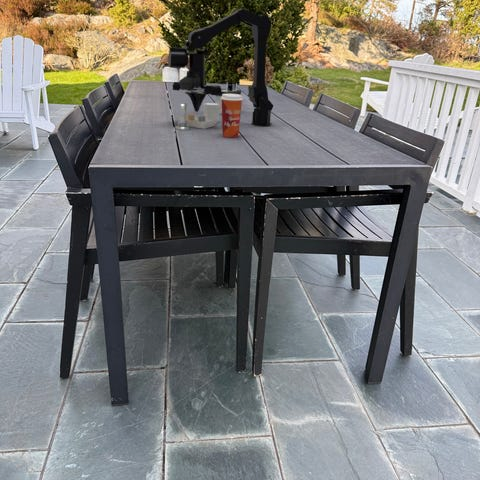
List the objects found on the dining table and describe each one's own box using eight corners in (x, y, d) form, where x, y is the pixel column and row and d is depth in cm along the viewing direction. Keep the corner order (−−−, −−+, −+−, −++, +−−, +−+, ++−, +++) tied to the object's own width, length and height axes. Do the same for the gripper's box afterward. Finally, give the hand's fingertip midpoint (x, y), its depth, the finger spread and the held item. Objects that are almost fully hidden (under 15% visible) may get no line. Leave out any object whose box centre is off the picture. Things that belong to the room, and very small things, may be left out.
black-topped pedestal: (236, 121, 186) (237, 88, 180) (186, 113, 197) (186, 82, 191) (266, 113, 208) (268, 84, 202) (219, 107, 219) (220, 79, 214)
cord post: (191, 128, 164) (191, 103, 160) (184, 130, 160) (184, 105, 156) (180, 127, 166) (180, 102, 162) (173, 128, 162) (172, 103, 158)
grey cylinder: (217, 123, 177) (218, 105, 174) (201, 122, 178) (201, 104, 175) (221, 120, 183) (222, 103, 180) (205, 119, 184) (206, 102, 181)
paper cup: (225, 138, 151) (226, 96, 145) (216, 134, 157) (217, 93, 151) (245, 137, 155) (247, 96, 149) (235, 133, 161) (237, 93, 155)
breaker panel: (214, 125, 172) (215, 116, 170) (204, 128, 165) (204, 119, 164) (189, 121, 177) (189, 112, 175) (177, 124, 170) (177, 115, 169)
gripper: (163, 67, 159) (164, 111, 166) (206, 71, 152) (206, 117, 158) (180, 66, 168) (181, 107, 175) (222, 69, 161) (221, 113, 167)
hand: (196, 111), depth 169 cm, fingers closed
